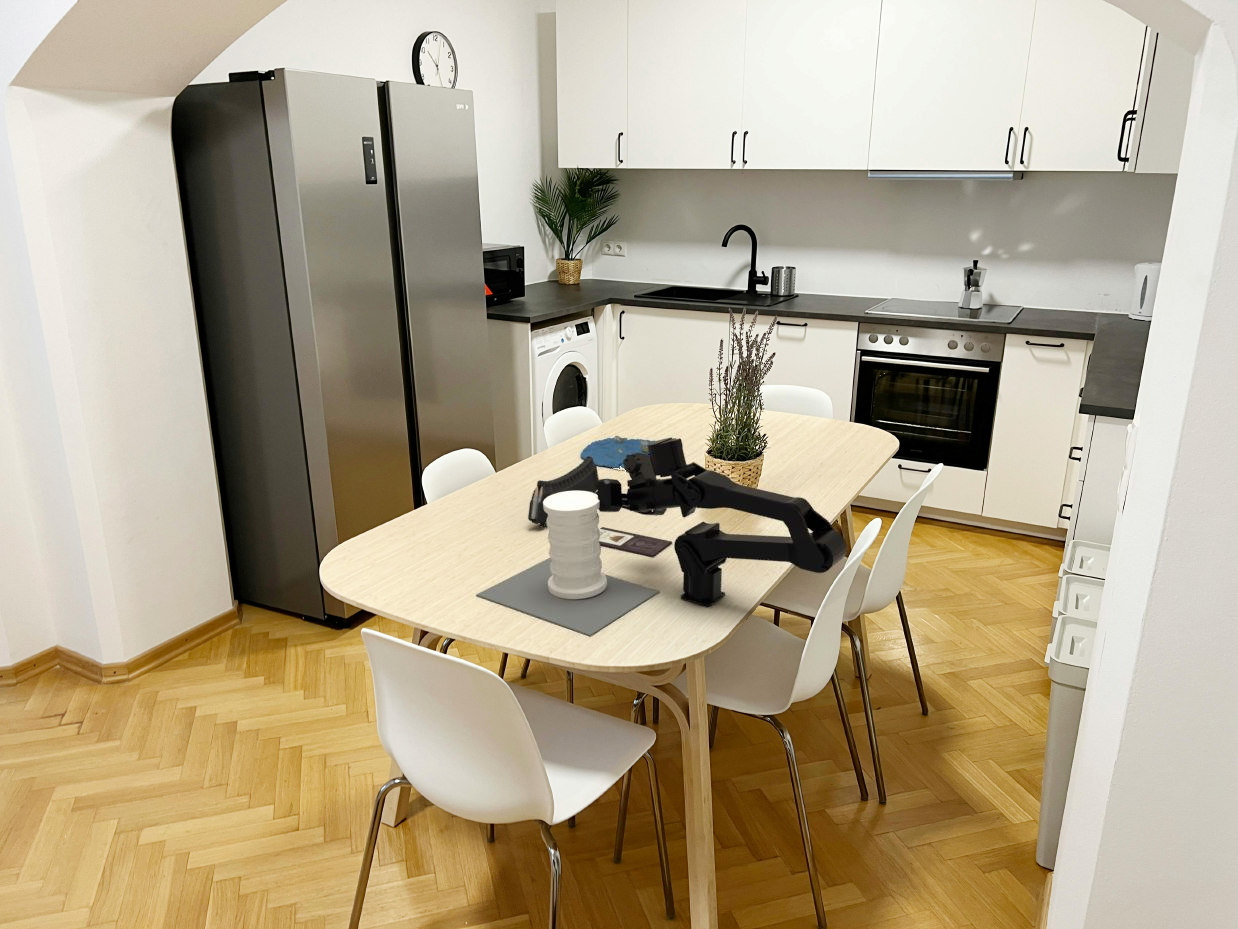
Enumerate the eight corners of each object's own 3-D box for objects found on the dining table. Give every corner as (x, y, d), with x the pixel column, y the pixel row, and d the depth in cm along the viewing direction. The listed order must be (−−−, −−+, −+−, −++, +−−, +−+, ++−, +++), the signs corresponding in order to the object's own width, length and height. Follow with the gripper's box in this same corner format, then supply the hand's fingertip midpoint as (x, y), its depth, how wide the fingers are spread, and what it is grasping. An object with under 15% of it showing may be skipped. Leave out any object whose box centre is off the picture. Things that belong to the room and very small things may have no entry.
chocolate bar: (653, 555, 190) (581, 539, 199) (653, 559, 191) (581, 543, 199) (672, 541, 198) (602, 527, 206) (672, 545, 198) (602, 530, 207)
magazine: (593, 456, 231) (534, 452, 204) (604, 457, 230) (547, 454, 203) (585, 521, 232) (526, 526, 205) (596, 523, 231) (538, 528, 203)
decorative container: (606, 571, 181) (601, 488, 176) (607, 597, 170) (602, 509, 165) (549, 575, 181) (542, 491, 175) (546, 601, 170) (539, 513, 164)
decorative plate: (702, 465, 259) (704, 448, 257) (613, 481, 244) (613, 463, 242) (649, 438, 283) (649, 422, 281) (564, 450, 268) (564, 434, 266)
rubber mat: (659, 592, 174) (659, 590, 174) (590, 636, 157) (590, 635, 157) (549, 559, 190) (549, 557, 190) (476, 595, 173) (475, 594, 173)
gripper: (688, 457, 180) (627, 466, 190) (629, 447, 166) (568, 458, 176) (690, 512, 178) (629, 518, 188) (632, 507, 164) (569, 514, 174)
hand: (600, 501), depth 181 cm, fingers open, 9 cm apart
